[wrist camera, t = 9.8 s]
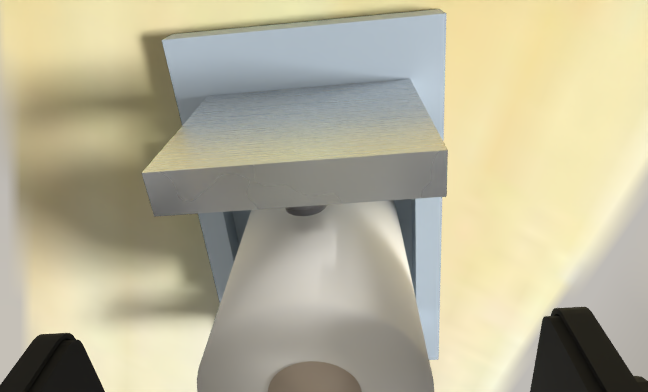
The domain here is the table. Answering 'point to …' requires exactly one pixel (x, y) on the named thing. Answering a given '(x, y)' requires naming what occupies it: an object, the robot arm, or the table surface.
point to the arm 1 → (300, 151)
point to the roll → (319, 307)
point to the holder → (321, 70)
